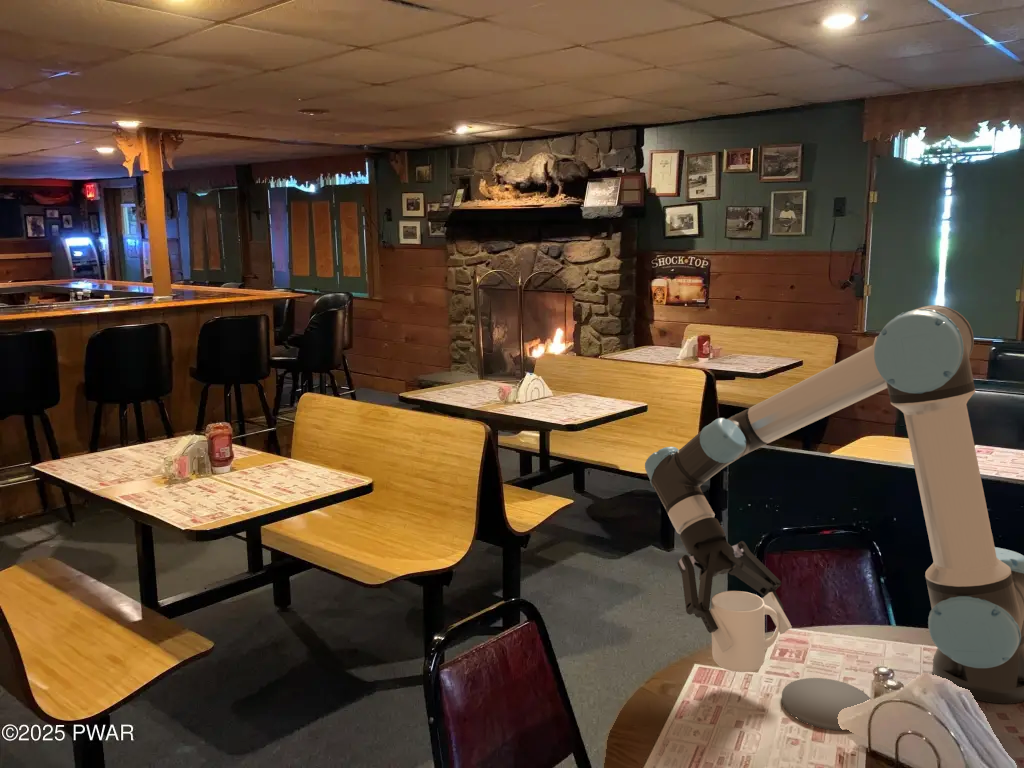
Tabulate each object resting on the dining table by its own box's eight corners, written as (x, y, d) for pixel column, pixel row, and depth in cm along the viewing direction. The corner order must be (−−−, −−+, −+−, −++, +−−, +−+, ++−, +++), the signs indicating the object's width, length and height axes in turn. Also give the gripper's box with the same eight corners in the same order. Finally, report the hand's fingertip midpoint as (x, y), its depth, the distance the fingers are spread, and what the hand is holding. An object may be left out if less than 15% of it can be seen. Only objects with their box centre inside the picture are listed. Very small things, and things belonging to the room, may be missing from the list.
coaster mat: (870, 689, 136) (870, 684, 135) (878, 736, 123) (878, 730, 122) (782, 678, 140) (782, 673, 140) (780, 722, 127) (780, 716, 127)
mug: (793, 665, 134) (793, 604, 133) (726, 677, 132) (725, 615, 130) (766, 643, 143) (766, 585, 141) (703, 653, 140) (702, 594, 139)
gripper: (739, 524, 154) (800, 631, 142) (633, 549, 143) (689, 666, 132) (759, 504, 148) (823, 613, 137) (650, 528, 138) (710, 648, 126)
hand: (757, 639), depth 134 cm, fingers closed on mug, 12 cm apart
